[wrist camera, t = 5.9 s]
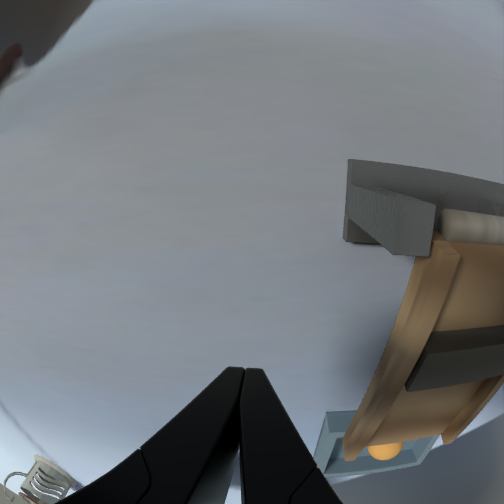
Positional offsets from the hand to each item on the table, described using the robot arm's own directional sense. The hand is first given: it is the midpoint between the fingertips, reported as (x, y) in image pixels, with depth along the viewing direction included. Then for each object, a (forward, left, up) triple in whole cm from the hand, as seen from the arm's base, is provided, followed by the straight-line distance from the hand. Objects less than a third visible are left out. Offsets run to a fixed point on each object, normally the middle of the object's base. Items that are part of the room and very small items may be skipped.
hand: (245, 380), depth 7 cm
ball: (-18, -12, -11) cm, 24 cm away
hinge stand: (+3, -12, -13) cm, 18 cm away
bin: (-19, -12, -13) cm, 26 cm away
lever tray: (-5, -12, -8) cm, 15 cm away
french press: (-44, +37, -13) cm, 59 cm away
